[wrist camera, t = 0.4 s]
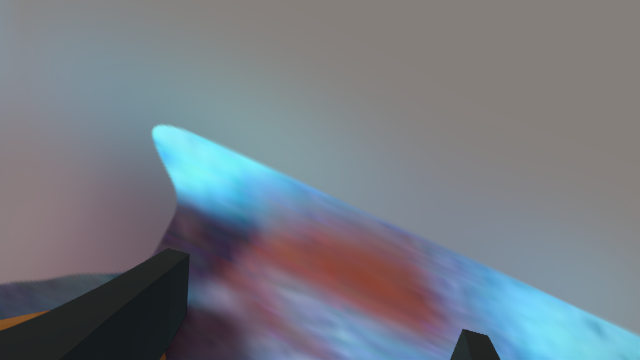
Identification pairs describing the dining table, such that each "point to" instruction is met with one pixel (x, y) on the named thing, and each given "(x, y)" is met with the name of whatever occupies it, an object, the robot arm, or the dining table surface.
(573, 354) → the dining table surface
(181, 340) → the dining table surface
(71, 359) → the robot arm
